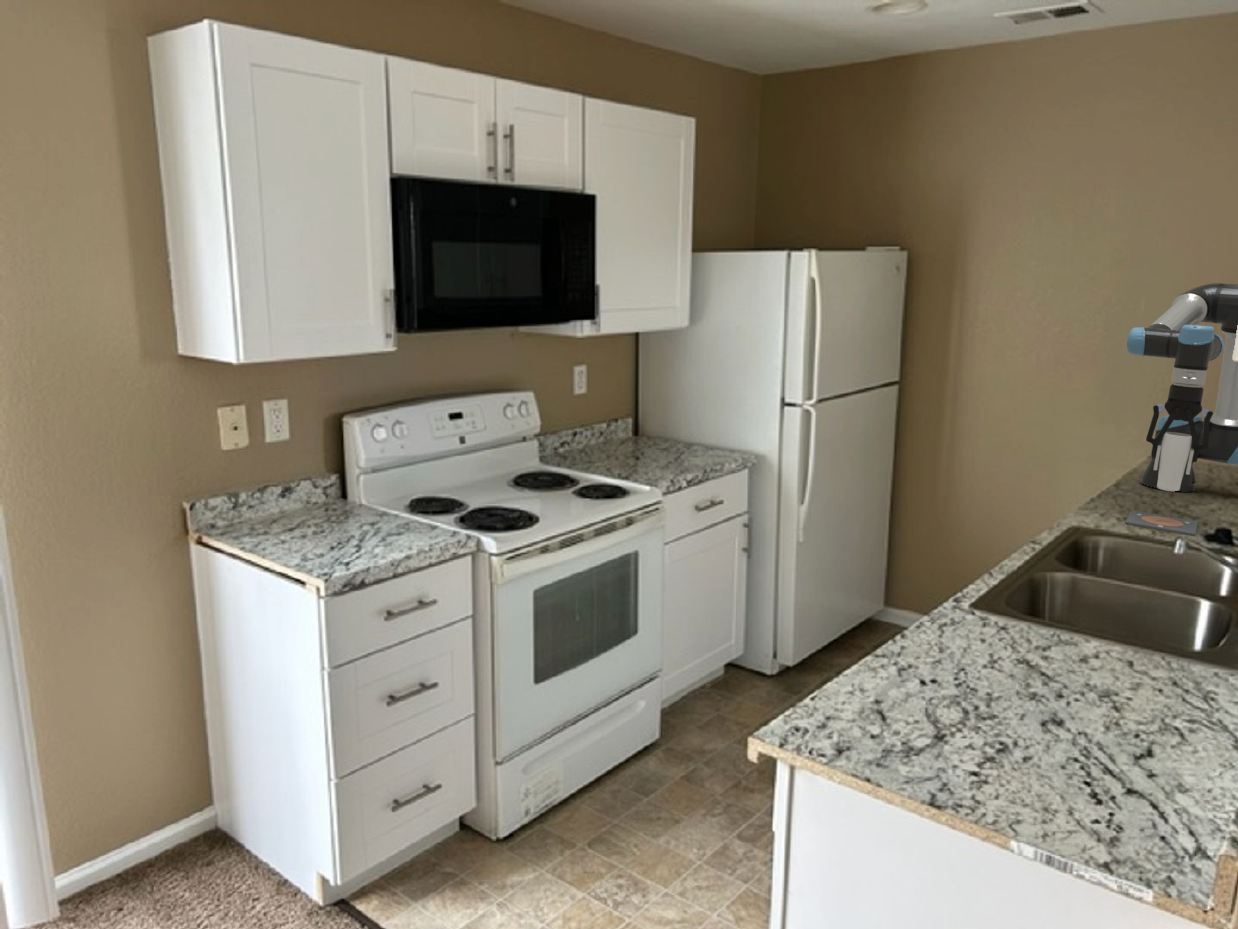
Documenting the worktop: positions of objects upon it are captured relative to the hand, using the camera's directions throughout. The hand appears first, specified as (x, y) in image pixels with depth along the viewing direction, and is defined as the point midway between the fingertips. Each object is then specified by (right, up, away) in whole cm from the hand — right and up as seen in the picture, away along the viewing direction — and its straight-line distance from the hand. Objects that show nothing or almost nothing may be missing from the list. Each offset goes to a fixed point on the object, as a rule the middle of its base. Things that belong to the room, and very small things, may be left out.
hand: (1171, 471), depth 246 cm
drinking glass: (0, -5, +1) cm, 5 cm away
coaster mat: (-1, -14, +3) cm, 15 cm away
